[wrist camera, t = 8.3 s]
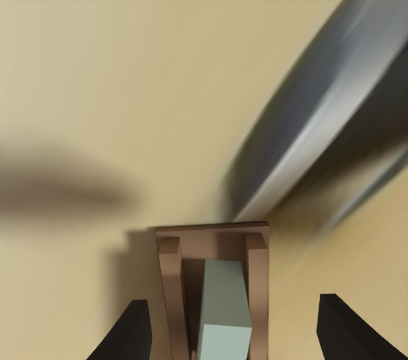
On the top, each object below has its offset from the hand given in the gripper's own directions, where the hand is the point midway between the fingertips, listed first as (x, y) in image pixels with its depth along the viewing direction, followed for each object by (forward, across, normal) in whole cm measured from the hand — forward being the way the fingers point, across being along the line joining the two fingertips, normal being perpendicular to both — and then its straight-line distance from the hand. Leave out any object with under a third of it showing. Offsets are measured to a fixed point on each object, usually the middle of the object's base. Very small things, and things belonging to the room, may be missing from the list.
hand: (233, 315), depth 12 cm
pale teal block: (+9, +1, +8) cm, 12 cm away
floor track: (+9, +1, +8) cm, 12 cm away
